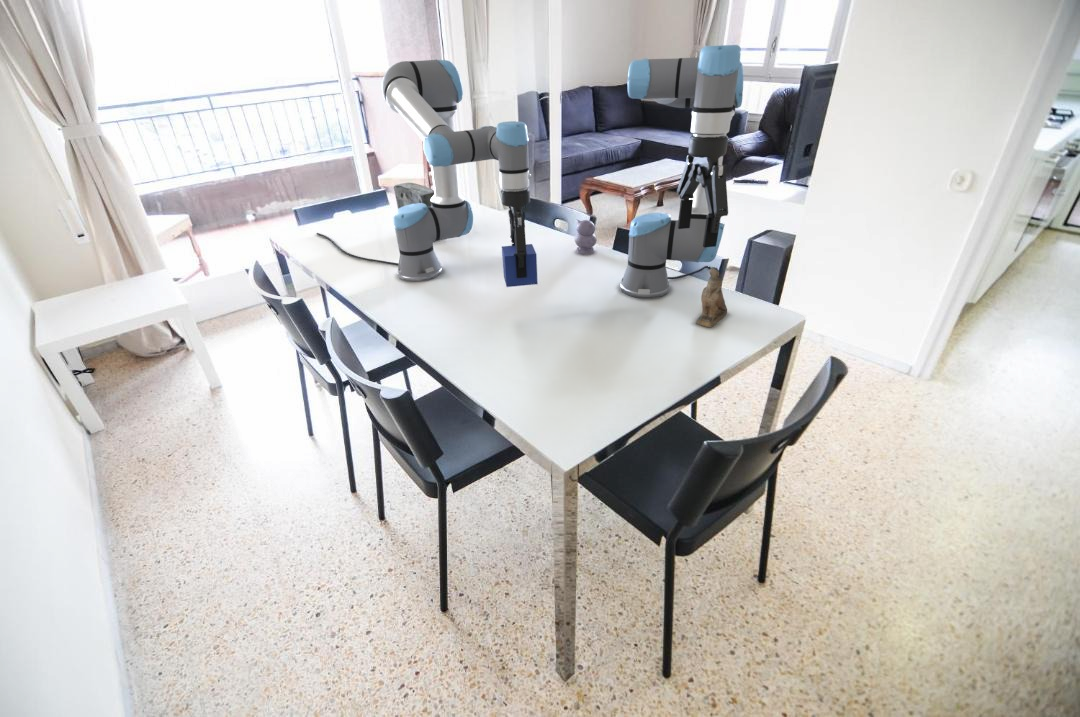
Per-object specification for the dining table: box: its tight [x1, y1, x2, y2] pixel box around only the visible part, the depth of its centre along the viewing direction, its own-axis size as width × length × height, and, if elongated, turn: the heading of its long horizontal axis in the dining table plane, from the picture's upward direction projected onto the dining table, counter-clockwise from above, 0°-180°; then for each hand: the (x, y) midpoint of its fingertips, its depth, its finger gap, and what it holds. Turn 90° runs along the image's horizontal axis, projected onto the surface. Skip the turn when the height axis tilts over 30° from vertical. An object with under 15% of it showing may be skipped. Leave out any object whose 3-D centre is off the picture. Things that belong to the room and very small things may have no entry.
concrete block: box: [393, 182, 435, 209], centre depth 208 cm, size 27×9×20 cm, turn 36°
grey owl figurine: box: [574, 219, 598, 256], centre depth 186 cm, size 8×8×12 cm
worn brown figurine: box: [695, 266, 728, 328], centre depth 135 cm, size 12×6×18 cm, turn 136°
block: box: [501, 243, 538, 288], centre depth 139 cm, size 9×8×9 cm
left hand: (519, 271), depth 140 cm, fingers closed on block, 8 cm apart
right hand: (695, 237), depth 112 cm, fingers open, 13 cm apart
